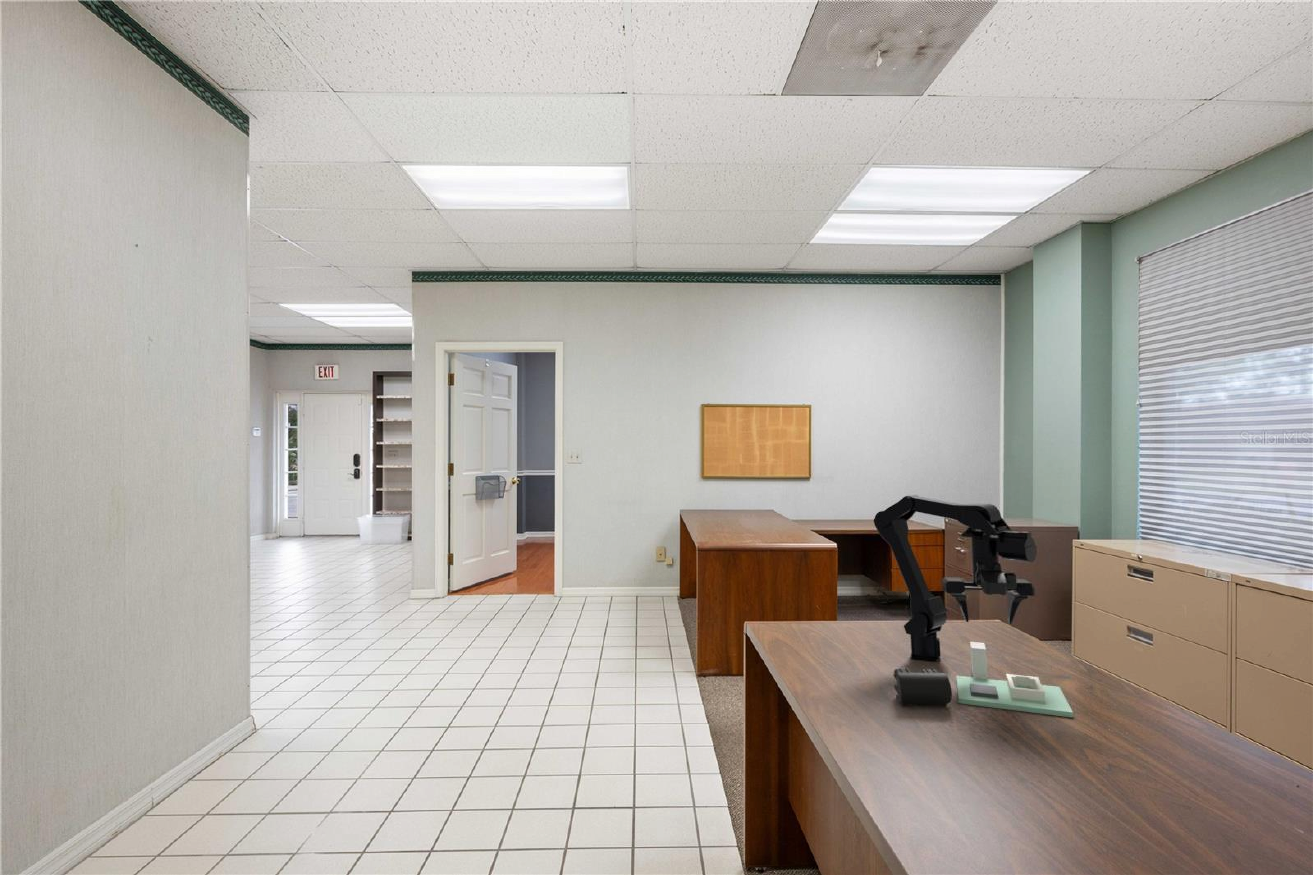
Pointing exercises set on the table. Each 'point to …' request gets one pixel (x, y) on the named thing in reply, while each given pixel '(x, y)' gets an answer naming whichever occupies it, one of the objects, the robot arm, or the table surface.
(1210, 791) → the table surface
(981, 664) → the plug
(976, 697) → the board
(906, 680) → the end cap
